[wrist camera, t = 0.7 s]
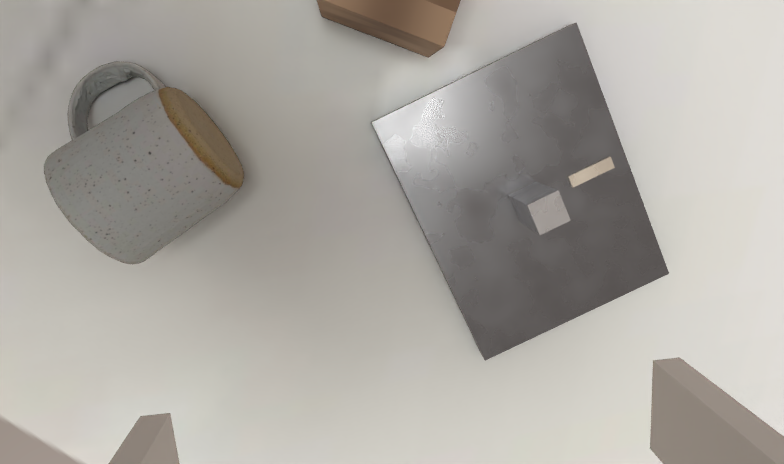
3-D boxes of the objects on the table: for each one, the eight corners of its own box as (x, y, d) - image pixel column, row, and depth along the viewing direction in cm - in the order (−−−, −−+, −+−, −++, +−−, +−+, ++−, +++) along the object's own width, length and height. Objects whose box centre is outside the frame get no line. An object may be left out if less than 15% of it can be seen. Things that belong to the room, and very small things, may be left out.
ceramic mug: (262, 177, 36) (237, 192, 28) (162, 249, 36) (111, 283, 29) (154, 34, 34) (96, 10, 26) (49, 113, 34) (-37, 112, 27)
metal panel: (371, 122, 36) (374, 124, 31) (570, 25, 35) (605, 11, 30) (481, 354, 40) (500, 388, 35) (661, 269, 39) (705, 292, 34)
